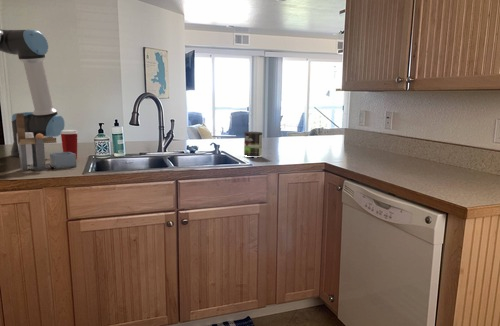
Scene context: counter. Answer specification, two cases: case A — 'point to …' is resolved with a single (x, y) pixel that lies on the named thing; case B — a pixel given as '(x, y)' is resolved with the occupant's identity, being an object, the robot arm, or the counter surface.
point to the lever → (21, 132)
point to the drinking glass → (28, 148)
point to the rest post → (23, 157)
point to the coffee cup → (69, 141)
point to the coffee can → (253, 143)
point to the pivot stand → (38, 156)
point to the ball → (39, 136)
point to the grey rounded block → (63, 160)
